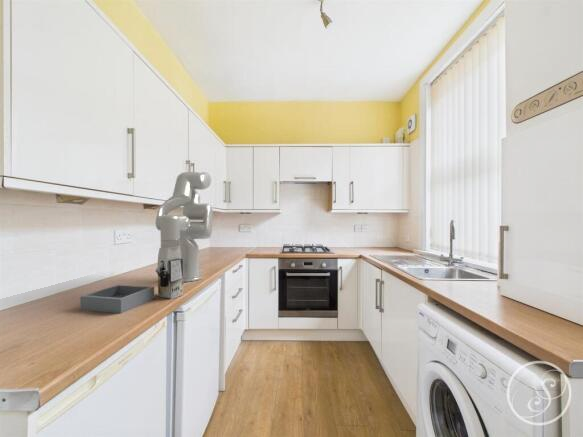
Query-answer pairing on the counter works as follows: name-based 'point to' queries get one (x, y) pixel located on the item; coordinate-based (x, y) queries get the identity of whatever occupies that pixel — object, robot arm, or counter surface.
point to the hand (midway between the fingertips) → (170, 283)
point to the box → (116, 298)
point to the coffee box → (173, 280)
